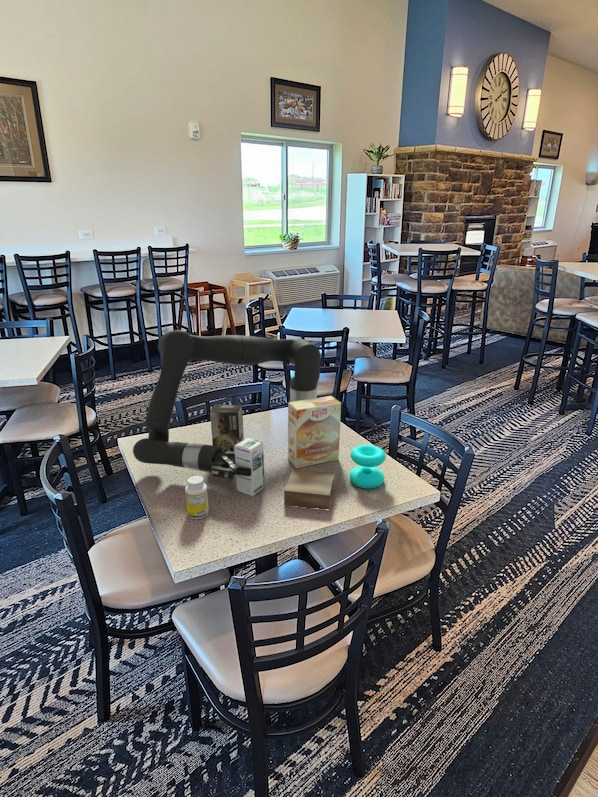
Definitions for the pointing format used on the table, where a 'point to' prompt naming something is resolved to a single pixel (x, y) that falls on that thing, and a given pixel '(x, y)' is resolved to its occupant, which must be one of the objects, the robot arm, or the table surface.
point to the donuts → (367, 466)
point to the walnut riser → (309, 489)
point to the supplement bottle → (196, 498)
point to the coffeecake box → (313, 431)
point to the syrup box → (250, 466)
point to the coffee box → (226, 426)
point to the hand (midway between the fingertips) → (256, 464)
